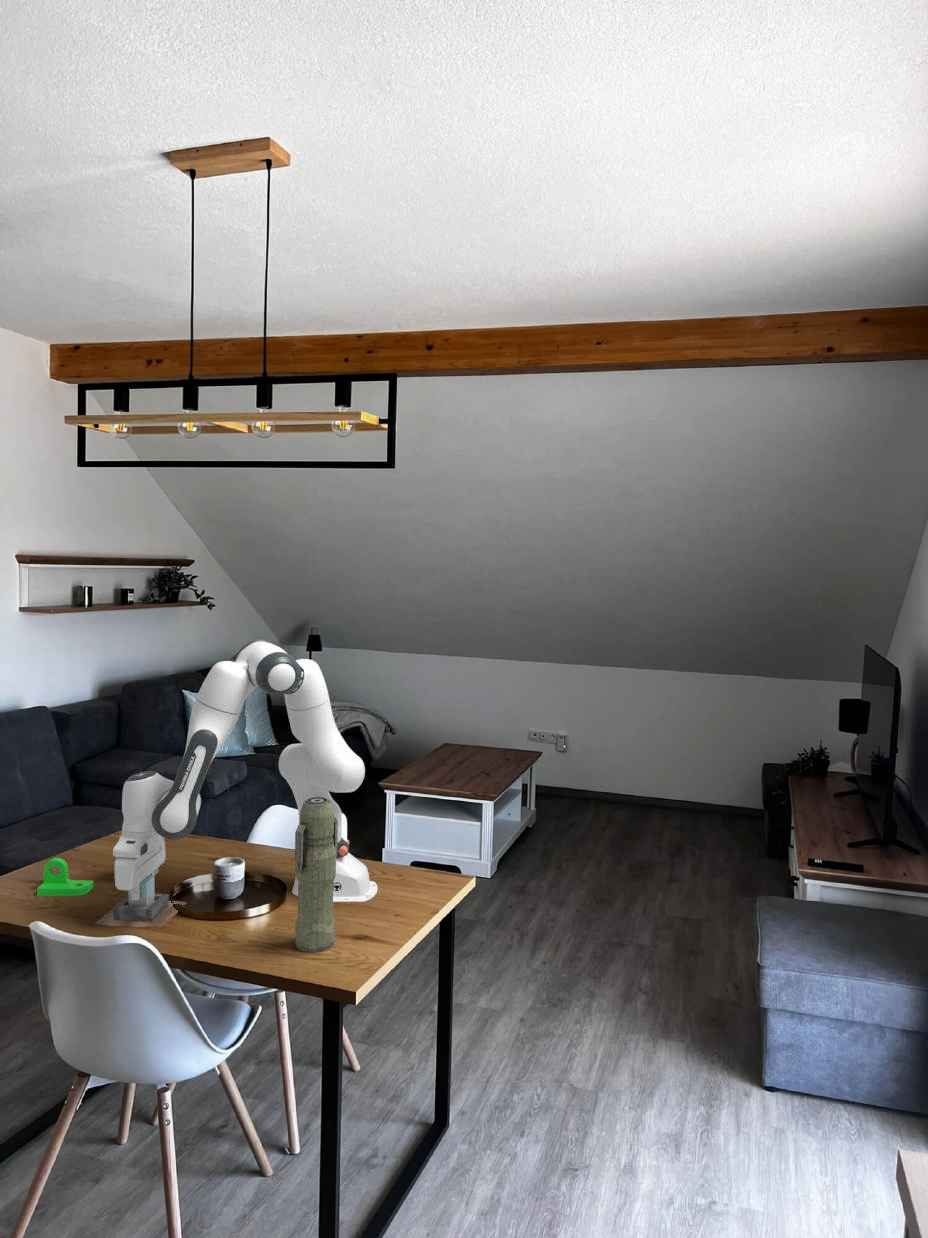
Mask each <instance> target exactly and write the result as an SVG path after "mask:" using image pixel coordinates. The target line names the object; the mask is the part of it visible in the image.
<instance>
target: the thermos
mask: <svg viewBox="0 0 928 1238" xmlns="http://www.w3.org/2000/svg"><path fill="white" fill-rule="evenodd" d="M294 833H295V835H294V836H295V837H294V839H295V841H294V867H295V870H294V872H295V873H296V874H295V878H296V877H297V880H298V896H297V918H296V919H295V920H296V921H295V925H294V943H295V947H296V948H297V949H298V950H300V951H302V952H306V953H321V952H326V951H328V950H330V949H332V948H333V947H334V945H335V942H336V920H335V918H334V917H335V916H334V902H333V884H334V879H335V876H336V857H337V841H338V821H337V819H336V818H335V817H334V810H333V807H332V803H331V801H330V800H328V799H327V798H323V797H312V798H309V799H307V800H305V801H304V802H303V805H302V808H301V811H300V823H299V822H298V825H297V828H296V830H295V832H294Z"/></svg>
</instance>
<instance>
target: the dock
mask: <svg viewBox="0 0 928 1238" xmlns="http://www.w3.org/2000/svg"><path fill="white" fill-rule="evenodd" d="M171 901H172V902H174V903H171ZM173 904H182V905H185V904H186V905H187V901H178V900H170V898H169V894H167V893H155V902H153V903H152V904H151V905H150V906H149V907H143V906H129V902H128V894H127V895H126V896H125V897H124V898H123V899H122V900H120V901H119V902H118V903H116V905H115V906H113V907H112V908H111V909H110V910H109V911H108V912H106V913H105V914H104V915H103V916H102V917H101V918H99V919H98V920H97V921H96V922H95V923H93V925H96V926H110V927H111V926H113V927H126V928H127V927H130V928H155V927H156V928H159V927H163V926H164V925H166V923H167V922H169V921H170V920H171V919H172V918H173V917H175V915H176V914H178V913H179V912H178V910H176V909H175V908H174V907H173Z"/></svg>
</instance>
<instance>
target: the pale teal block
mask: <svg viewBox="0 0 928 1238" xmlns="http://www.w3.org/2000/svg"><path fill="white" fill-rule="evenodd" d="M155 877H156V875H155V876H147V877H146V878H145V879H144V880H143V881H141V882H140V886H139V891H141V898H140V899H139V900H132V898H131V891H128V892H127V893H128V894H127V895H128V902H129V906H143V907H149V906H150V905H151V904H152V903H153V902H155V894H156V893H155V892H156V891H155V886H156V885H155Z"/></svg>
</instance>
